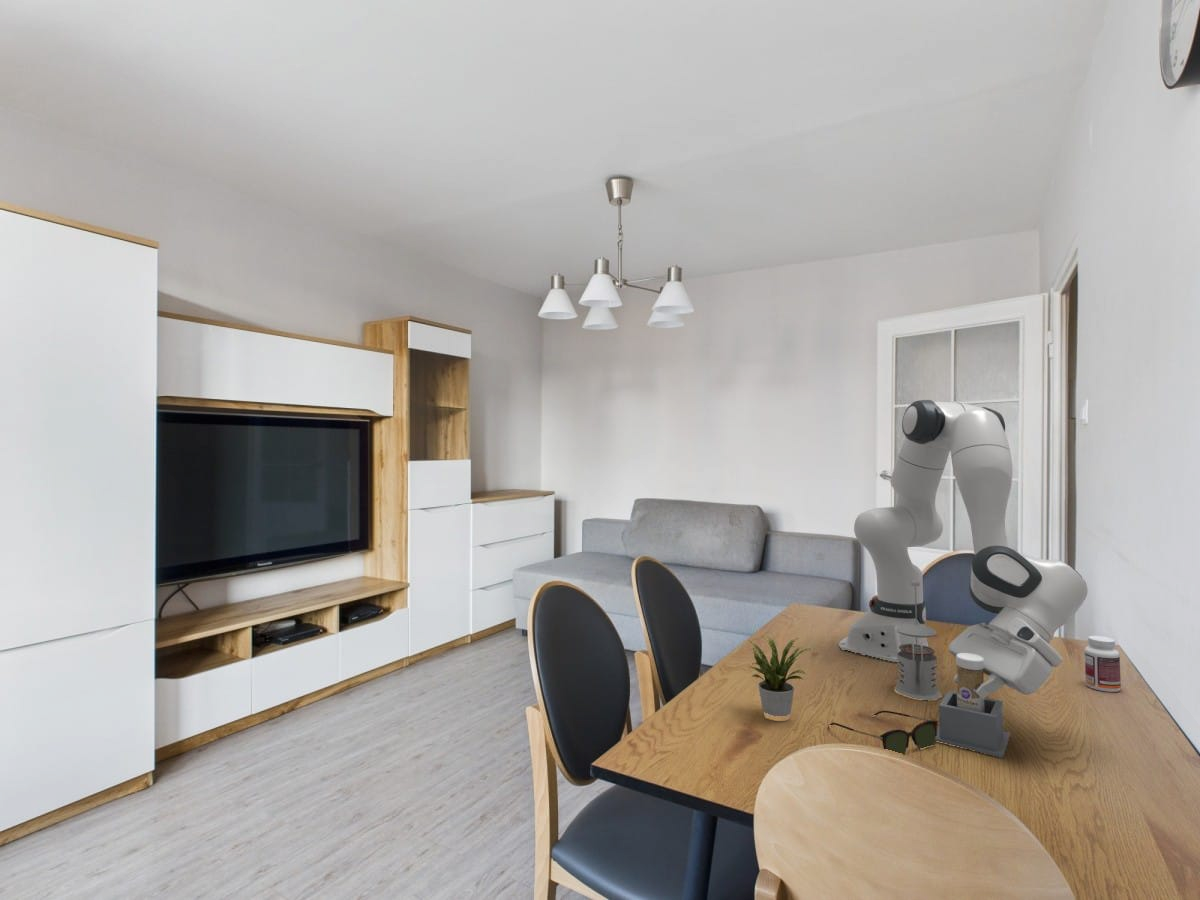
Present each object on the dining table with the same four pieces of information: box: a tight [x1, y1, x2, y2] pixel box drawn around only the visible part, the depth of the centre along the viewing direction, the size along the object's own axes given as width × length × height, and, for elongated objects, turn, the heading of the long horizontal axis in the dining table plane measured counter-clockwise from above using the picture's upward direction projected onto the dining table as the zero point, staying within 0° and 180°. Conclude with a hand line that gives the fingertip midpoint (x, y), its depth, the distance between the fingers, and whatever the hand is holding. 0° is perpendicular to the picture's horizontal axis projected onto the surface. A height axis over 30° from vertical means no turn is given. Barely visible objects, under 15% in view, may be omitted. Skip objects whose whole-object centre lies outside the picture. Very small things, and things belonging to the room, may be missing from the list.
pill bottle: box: [1084, 635, 1122, 693], centre depth 141 cm, size 6×6×11 cm
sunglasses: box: [829, 710, 939, 755], centre depth 119 cm, size 14×15×5 cm
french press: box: [894, 580, 943, 700], centre depth 139 cm, size 10×12×25 cm
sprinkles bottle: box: [955, 653, 984, 713], centre depth 117 cm, size 5×5×14 cm
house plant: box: [747, 635, 816, 716], centre depth 129 cm, size 14×14×16 cm
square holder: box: [935, 690, 1011, 759], centre depth 117 cm, size 11×11×7 cm
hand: (967, 689), depth 117 cm, fingers closed on sprinkles bottle, 4 cm apart
